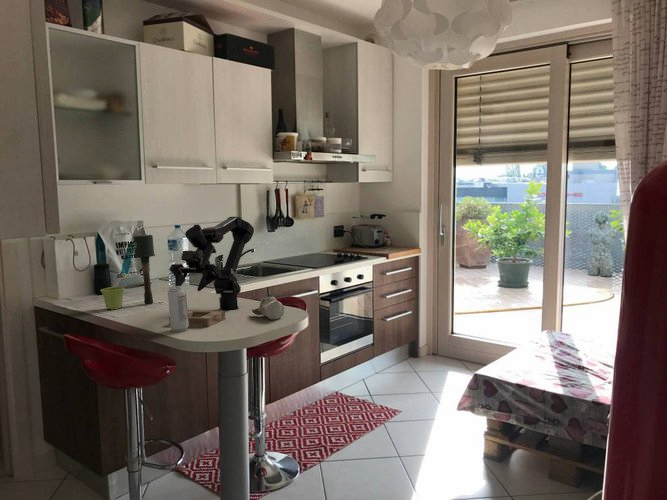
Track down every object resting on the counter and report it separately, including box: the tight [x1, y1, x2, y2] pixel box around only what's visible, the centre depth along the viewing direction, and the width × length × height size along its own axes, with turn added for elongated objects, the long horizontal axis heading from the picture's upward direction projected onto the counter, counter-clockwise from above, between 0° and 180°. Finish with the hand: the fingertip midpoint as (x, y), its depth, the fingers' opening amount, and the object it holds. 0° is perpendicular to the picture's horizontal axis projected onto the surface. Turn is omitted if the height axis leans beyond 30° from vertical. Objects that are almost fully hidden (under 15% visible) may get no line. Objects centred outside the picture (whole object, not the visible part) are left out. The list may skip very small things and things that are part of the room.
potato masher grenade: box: [133, 234, 156, 305], centre depth 232 cm, size 8×9×30 cm
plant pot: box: [99, 286, 125, 310], centre depth 227 cm, size 9×9×9 cm
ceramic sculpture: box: [251, 294, 285, 321], centre depth 198 cm, size 11×9×15 cm
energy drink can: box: [167, 285, 190, 333], centre depth 184 cm, size 6×6×15 cm
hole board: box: [168, 309, 226, 328], centre depth 195 cm, size 12×16×3 cm
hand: (187, 290), depth 189 cm, fingers open, 9 cm apart
